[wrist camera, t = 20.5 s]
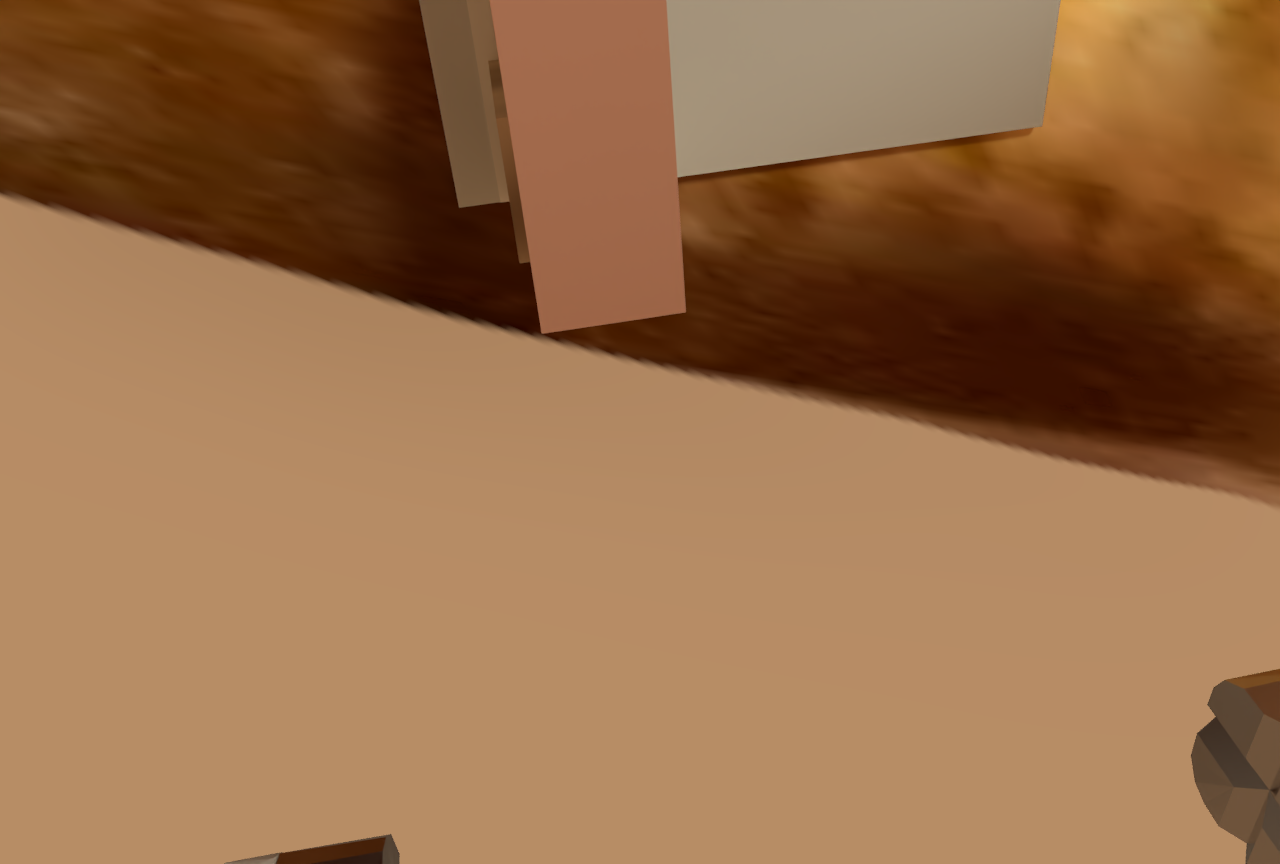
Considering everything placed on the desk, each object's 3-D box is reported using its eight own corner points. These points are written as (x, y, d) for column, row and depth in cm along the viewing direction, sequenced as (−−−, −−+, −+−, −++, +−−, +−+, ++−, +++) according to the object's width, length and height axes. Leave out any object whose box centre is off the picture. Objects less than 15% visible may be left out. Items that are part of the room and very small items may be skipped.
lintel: (530, 265, 33) (541, 333, 30) (456, -210, 26) (460, -186, 23) (661, 246, 34) (685, 312, 30) (625, -229, 26) (653, -207, 23)
